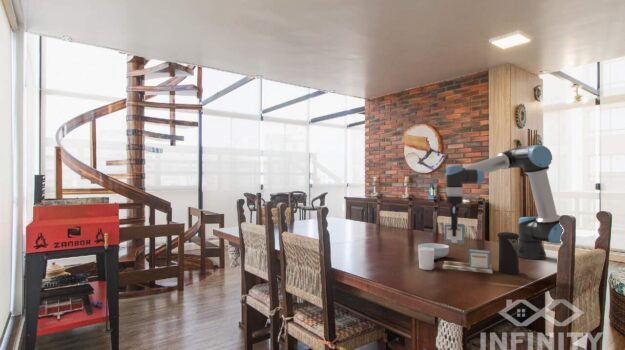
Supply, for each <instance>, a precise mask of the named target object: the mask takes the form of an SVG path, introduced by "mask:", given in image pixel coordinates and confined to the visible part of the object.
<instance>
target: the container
mask: <svg viewBox="0 0 625 350" xmlns="http://www.w3.org/2000/svg"><path fill="white" fill-rule="evenodd" d="M497 237H498V272H499V273H500V274H504V275H508V276H509V275H510V276H513V275H515V276H518V275H519V274H520V266H519V265H520V264H519V263H520V262H519V257H518V243H519V233H516V232H515V233H514V232H510V231H502V232H498V233H497Z"/></svg>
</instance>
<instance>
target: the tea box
mask: <svg viewBox="0 0 625 350" xmlns="http://www.w3.org/2000/svg"><path fill="white" fill-rule="evenodd" d="M450 228H451V223H447V222H446V223H444V243H449V244H452V243H451V230H450ZM456 244H460V245H462V244H463V245H464V244H465V223H458V224H457V243H456Z"/></svg>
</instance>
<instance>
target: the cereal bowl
mask: <svg viewBox="0 0 625 350" xmlns="http://www.w3.org/2000/svg"><path fill="white" fill-rule="evenodd" d="M420 247H428V248H433V249H434V260H440V259H441V258H444V257H446V256H447V255H449V252H450V246H449V245H448V244H443V243H433V242H429V243H427V242H426V243H420V244H418V246H417V249H418V248H420Z"/></svg>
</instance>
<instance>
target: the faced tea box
mask: <svg viewBox="0 0 625 350" xmlns="http://www.w3.org/2000/svg"><path fill="white" fill-rule="evenodd" d="M490 259H491V257H490V250H483V249H482V250H481V249H471V248H469V249H468V263H469V267H470V268H481V269H490V265H491V263H490Z"/></svg>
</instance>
